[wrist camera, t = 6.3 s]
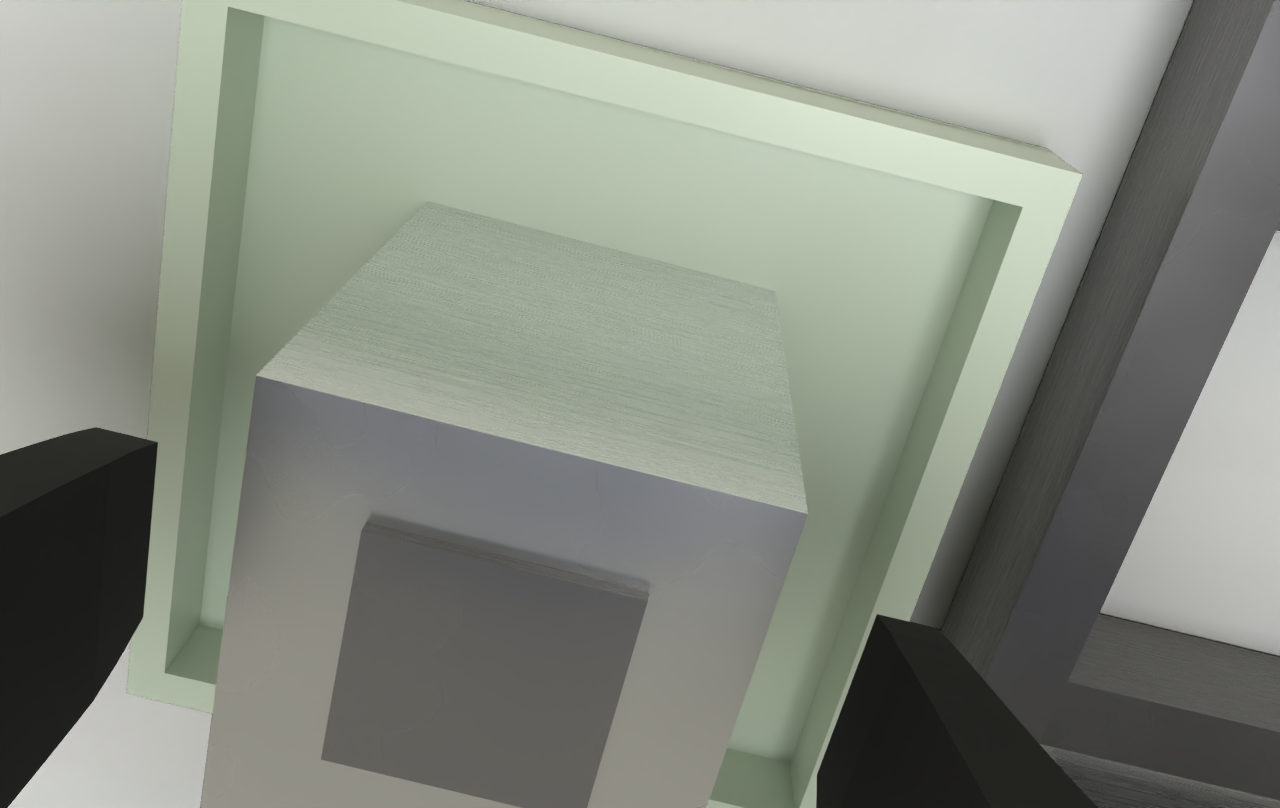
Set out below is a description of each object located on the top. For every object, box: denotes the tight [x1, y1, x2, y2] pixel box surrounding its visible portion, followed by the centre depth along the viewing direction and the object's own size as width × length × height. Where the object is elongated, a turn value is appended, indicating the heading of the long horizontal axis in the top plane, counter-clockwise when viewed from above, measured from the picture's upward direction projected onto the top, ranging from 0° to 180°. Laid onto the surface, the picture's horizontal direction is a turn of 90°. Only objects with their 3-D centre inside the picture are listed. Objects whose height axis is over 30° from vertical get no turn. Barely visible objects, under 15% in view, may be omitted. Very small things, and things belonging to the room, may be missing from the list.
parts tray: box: [126, 0, 1083, 808], centre depth 16 cm, size 10×10×2 cm
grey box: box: [200, 201, 808, 808], centre depth 13 cm, size 4×4×6 cm
